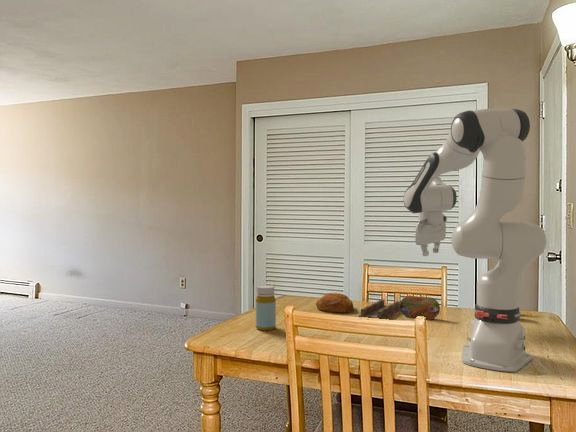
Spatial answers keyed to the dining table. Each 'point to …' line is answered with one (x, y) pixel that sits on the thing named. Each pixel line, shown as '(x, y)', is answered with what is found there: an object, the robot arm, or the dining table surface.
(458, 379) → the dining table surface
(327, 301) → the round bread loaf
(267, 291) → the bottle
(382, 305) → the rack
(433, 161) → the robot arm
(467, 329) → the dining table surface
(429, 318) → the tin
